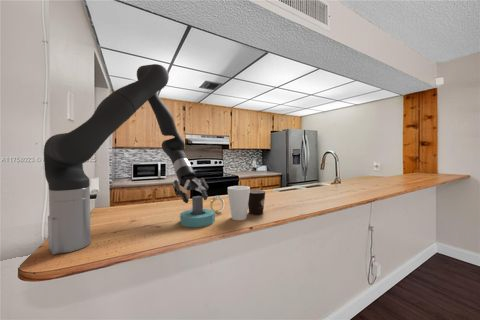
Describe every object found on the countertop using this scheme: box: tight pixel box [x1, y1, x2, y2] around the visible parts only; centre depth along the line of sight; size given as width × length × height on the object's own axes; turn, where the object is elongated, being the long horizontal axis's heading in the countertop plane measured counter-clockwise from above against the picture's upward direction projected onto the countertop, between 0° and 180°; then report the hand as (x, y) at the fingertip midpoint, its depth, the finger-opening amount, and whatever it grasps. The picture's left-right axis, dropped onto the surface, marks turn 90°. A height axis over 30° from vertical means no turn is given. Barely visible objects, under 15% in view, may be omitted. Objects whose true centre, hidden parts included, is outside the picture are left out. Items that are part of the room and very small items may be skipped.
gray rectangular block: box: [191, 195, 204, 215], centre depth 83 cm, size 3×3×10 cm
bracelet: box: [209, 195, 226, 214], centre depth 96 cm, size 7×3×8 cm, turn 115°
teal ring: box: [179, 208, 216, 228], centre depth 83 cm, size 13×13×4 cm
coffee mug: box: [248, 189, 266, 216], centre depth 95 cm, size 12×9×10 cm
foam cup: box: [227, 185, 251, 221], centre depth 87 cm, size 10×9×13 cm
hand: (197, 200), depth 83 cm, fingers open, 8 cm apart
